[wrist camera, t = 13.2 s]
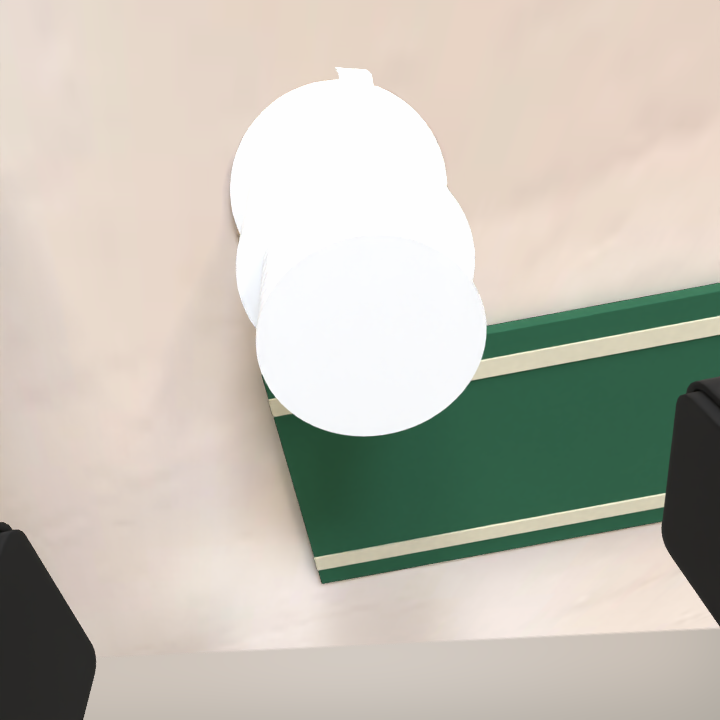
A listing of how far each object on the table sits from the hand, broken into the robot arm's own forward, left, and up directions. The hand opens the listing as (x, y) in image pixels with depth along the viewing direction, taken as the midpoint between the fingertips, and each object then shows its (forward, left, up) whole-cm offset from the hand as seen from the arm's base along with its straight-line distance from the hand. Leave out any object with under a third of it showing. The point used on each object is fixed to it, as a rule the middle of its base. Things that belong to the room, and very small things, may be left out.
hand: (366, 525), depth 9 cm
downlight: (+1, 0, -15) cm, 15 cm away
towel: (+6, -12, -14) cm, 19 cm away
